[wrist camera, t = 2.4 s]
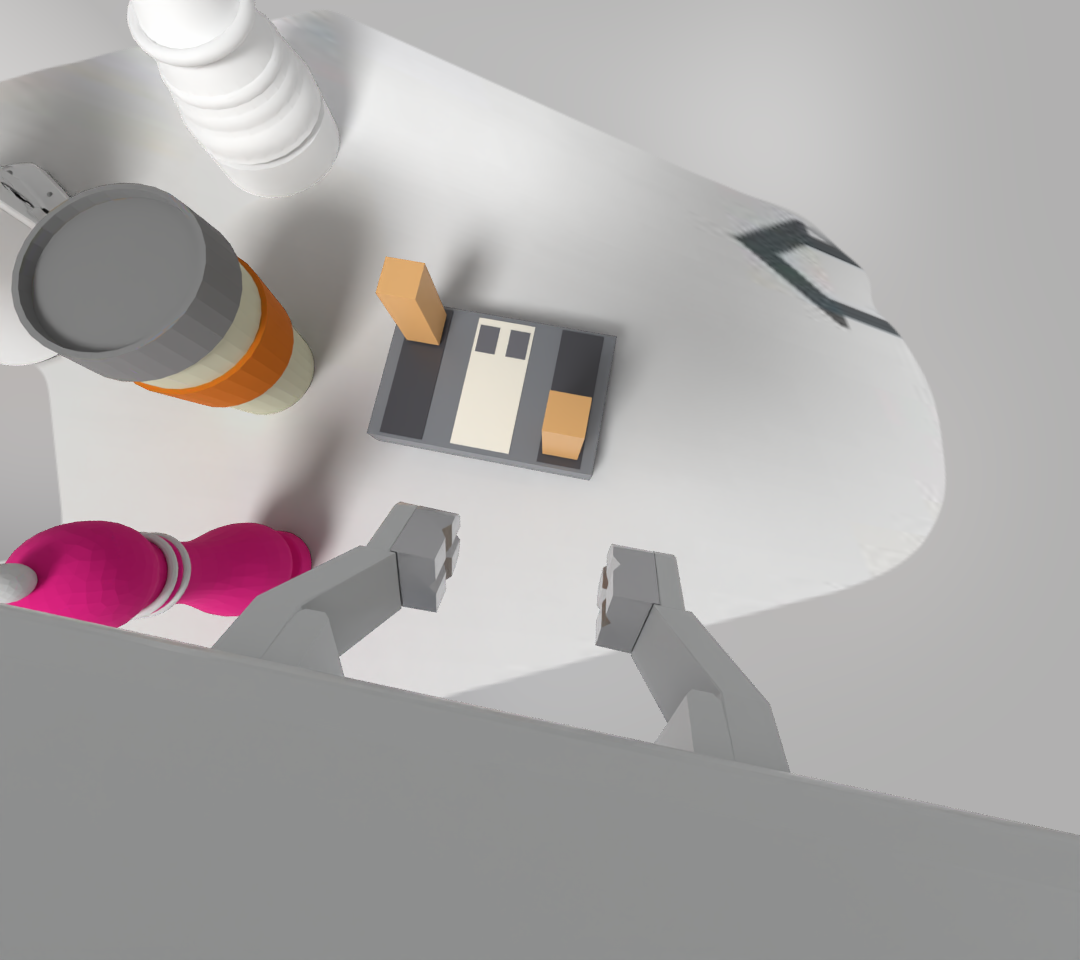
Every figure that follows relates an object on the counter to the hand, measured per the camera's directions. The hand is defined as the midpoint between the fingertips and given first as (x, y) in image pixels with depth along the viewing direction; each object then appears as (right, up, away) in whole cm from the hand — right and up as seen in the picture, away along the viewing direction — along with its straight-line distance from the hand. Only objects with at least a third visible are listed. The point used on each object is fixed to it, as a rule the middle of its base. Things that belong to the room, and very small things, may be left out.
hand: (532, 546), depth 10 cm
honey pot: (-28, +37, +35) cm, 58 cm away
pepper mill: (-23, -6, +27) cm, 36 cm away
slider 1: (-10, +15, +27) cm, 33 cm away
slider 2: (+2, +5, +26) cm, 26 cm away
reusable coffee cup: (-26, +12, +30) cm, 42 cm away
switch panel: (-4, +10, +29) cm, 31 cm away
